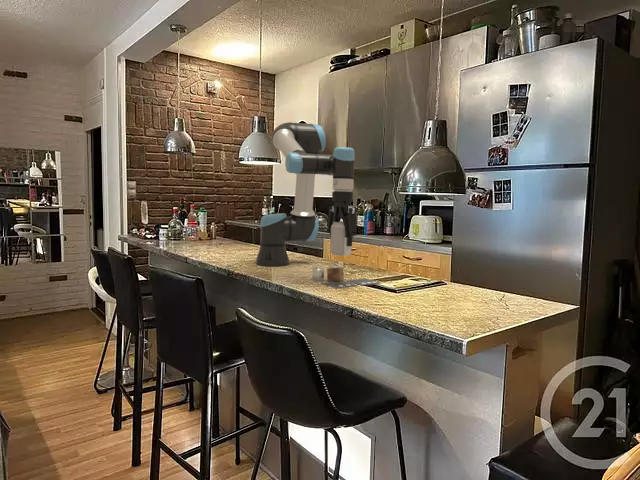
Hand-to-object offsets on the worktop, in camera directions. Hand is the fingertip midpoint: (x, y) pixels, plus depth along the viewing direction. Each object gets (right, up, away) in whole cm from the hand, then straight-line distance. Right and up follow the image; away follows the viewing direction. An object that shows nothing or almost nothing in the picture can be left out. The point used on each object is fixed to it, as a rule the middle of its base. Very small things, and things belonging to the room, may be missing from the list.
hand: (340, 253), depth 173 cm
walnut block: (-2, -11, +8) cm, 13 cm away
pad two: (0, -12, +1) cm, 12 cm away
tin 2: (-2, -11, +14) cm, 17 cm away
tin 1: (-8, -11, +9) cm, 16 cm away
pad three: (+9, -11, +8) cm, 17 cm away
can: (0, 0, 0) cm, 0 cm away
